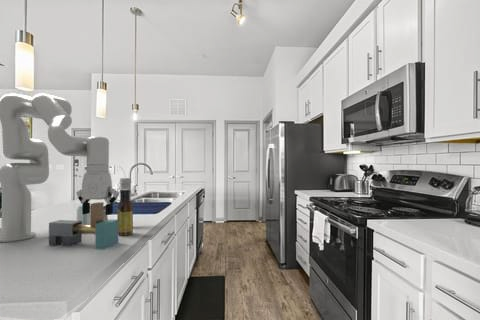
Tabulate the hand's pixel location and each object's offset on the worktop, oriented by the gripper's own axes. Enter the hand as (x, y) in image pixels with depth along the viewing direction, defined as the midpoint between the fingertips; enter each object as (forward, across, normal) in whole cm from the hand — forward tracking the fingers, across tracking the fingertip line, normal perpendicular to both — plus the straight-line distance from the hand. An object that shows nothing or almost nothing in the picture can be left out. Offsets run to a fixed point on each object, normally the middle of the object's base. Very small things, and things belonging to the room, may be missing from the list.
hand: (97, 214), depth 101 cm
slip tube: (+7, -3, 0) cm, 8 cm away
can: (+12, -21, +19) cm, 31 cm away
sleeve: (+12, -14, 0) cm, 18 cm away
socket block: (+12, +4, 0) cm, 13 cm away
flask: (+12, -11, +18) cm, 24 cm away
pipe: (+12, -7, +28) cm, 31 cm away
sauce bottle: (+12, +1, +16) cm, 20 cm away
